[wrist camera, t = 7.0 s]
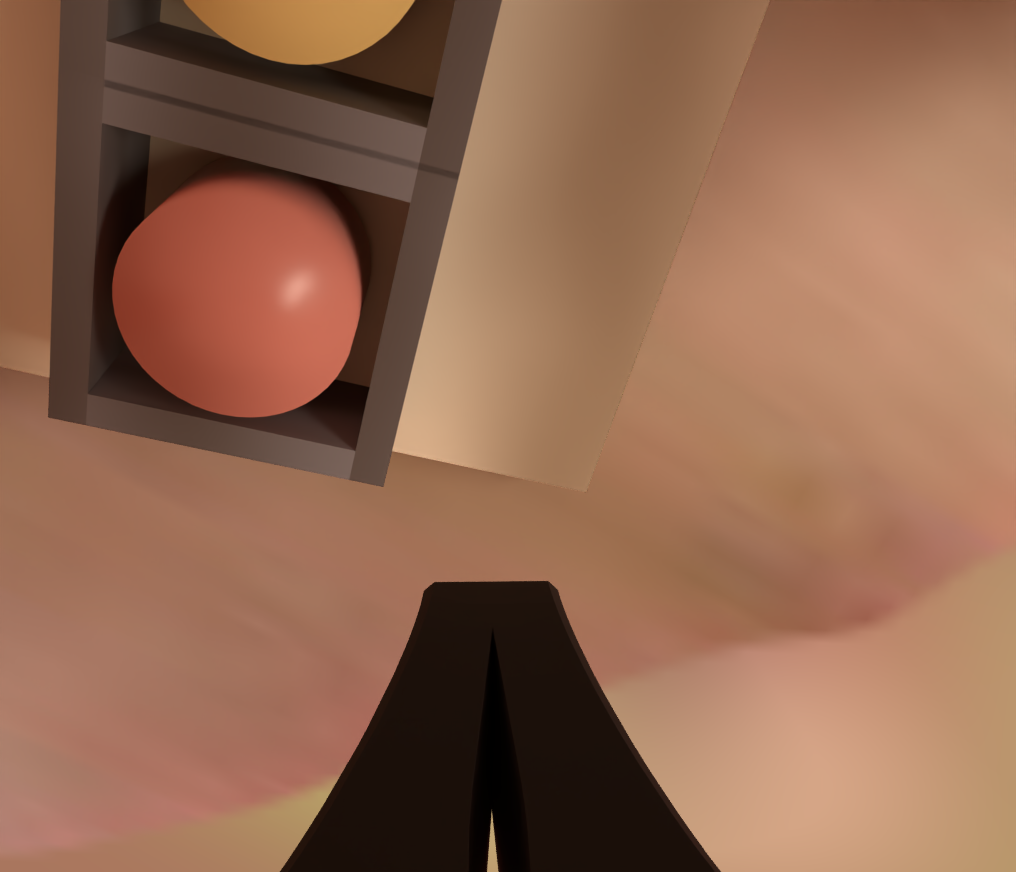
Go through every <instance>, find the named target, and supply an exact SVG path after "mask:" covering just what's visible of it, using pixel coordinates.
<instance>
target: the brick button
mask: <svg viewBox="0 0 1016 872" xmlns="http://www.w3.org/2000/svg"><path fill="white" fill-rule="evenodd" d="M370 275H371V254H370V247H369V242H368V239H367V235H366V232H365V229H364V227H363V224H362V222H361V220H360V218H359V216H358V214H357V213H356V211H355V209H354V208H353V206H352V205H351V203H350V202H349V201H348V199H347V198H346V197H345V196H344V194H343V193H342V192H341V191H340V190H339V189H338V188H337V187H336V186H335V185H334V184H332V183H331V182H328V181H325V180H321V179H317V178H313V177H309V176H305V175H301V174H297V173H294V172H290V171H286V170H282V169H278V168H274V167H270V166H266V165H263V164H259V163H255V162H251V161H247V160H243V159H239V158H235V157H232V156H229V157H225V158H222V159H219V160H216V161H214V162H212V163H210V164H208V165H206V166H204V167H202V168H201V169H199V170H198V171H197V172H195V173H194V174H193V175H191V176H190V177H189V178H188V179H187V180H186V181H185V182H184V183H183V184H182V185H181V186H180V187H179V188H178V189H176V190H175V191H174V192H173V193H172V194H171V195H170V196H169V197H168V198H167V199H166V200H165V201H164V202H163V203H162V204H161V205H160V206H158V207H157V208H156V209H155V210H154V211H153V212H152V213H151V214H150V215H149V216H148V217H147V218H146V219H145V220H144V221H143V222H142V223H141V224H140V225H139V226H138V227H137V228H136V229H135V230H134V231H133V232H132V234H131V235H130V237H129V238H128V239H127V241H126V242H125V244H124V246H123V248H122V250H121V252H120V254H119V256H118V260H117V263H116V266H115V270H114V276H113V283H112V300H113V306H114V313H115V317H116V320H117V323H118V327H119V330H120V332H121V334H122V336H123V339H124V341H125V343H126V345H127V346H128V348H129V350H130V351H131V353H132V355H133V356H134V357H135V359H136V360H137V361H138V363H139V364H140V365H141V367H142V368H143V369H144V370H145V371H146V372H147V373H148V374H149V375H150V376H151V377H152V378H153V379H154V380H155V381H156V382H158V383H159V384H160V385H161V386H162V387H164V388H165V389H166V390H168V391H169V392H171V393H172V394H174V395H175V396H177V397H178V398H180V399H182V400H184V401H186V402H188V403H190V404H192V405H194V406H197V407H199V408H202V409H204V410H207V411H211V412H214V413H218V414H222V415H228V416H235V417H265V416H271V415H276V414H281V413H284V412H287V411H290V410H293V409H296V408H298V407H300V406H302V405H304V404H306V403H308V402H309V401H311V400H312V399H314V398H315V397H317V396H318V395H319V394H321V393H322V392H323V391H324V390H325V389H326V388H328V386H329V385H330V384H331V383H332V382H333V381H334V380H335V378H336V377H337V376H338V374H339V373H340V371H341V370H342V368H343V366H344V364H345V362H346V360H347V358H348V356H349V353H350V350H351V346H352V343H353V339H354V336H355V332H356V328H357V325H358V321H359V318H360V314H361V311H362V307H363V304H364V300H365V297H366V293H367V290H368V286H369V282H370Z"/></svg>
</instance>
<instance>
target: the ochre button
mask: <svg viewBox="0 0 1016 872" xmlns="http://www.w3.org/2000/svg"><path fill="white" fill-rule="evenodd" d="M183 1H184V2H185V3H186V5H187V6H188V7H189V8H190V9H191V10H192V11H193V12H194V13H195V14H196V15H197V17H198V18H199V19H200V20H201V21H202V22H204V23H205V24H206V25H207V26H208V27H210V28H211V29H212V30H213V31H214V32H216V33H217V34H218V35H220V36H221V37H223V38H224V39H226V40H227V41H229V42H230V43H232V44H233V45H235V46H237V47H239V48H241V49H243V50H245V51H247V52H249V53H251V54H254V55H257V56H260V57H263V58H265V59H268V60H272V61H277V62H282V63H287V64H300V65H311V64H324V63H328V62H333V61H338V60H341V59H344V58H347V57H349V56H352V55H355V54H357V53H359V52H361V51H363V50H365V49H366V48H368V47H370V46H372V45H373V44H375V43H376V42H377V41H379V40H380V39H381V38H383V37H384V36H385V35H387V34H388V33H389V32H390V31H391V30H392V29H393V28H394V27H395V26H396V25H397V24H398V23H399V22H400V20H401V19H402V18H403V16H404V15H405V14H406V12H407V11H408V10H409V8H410V7H411V6H412V4H413V2H414V1H415V0H183Z"/></svg>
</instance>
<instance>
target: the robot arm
mask: <svg viewBox="0 0 1016 872" xmlns="http://www.w3.org/2000/svg"><path fill="white" fill-rule="evenodd" d="M491 812H492V815H493V824H494V833H495V843H496V852H497V862H498V871H499V872H721V871H720V870H719V869H718V867H717V866H716V865H715V864H714V862H713V861H712V860H711V858H710V857H709V856H708V855H707V853H706V852H705V851H704V849H703V848H702V846H701V845H700V843H699V842H698V841H697V839H696V838H695V837H694V835H693V834H692V832H691V831H690V829H689V828H688V827H687V825H686V824H685V822H684V821H683V819H682V818H681V817H680V815H679V814H678V812H677V811H676V809H675V808H674V806H673V805H672V803H671V802H670V800H669V799H668V797H667V796H666V794H665V793H664V791H663V790H662V788H661V787H660V785H659V784H658V782H657V781H656V779H655V778H654V776H653V775H652V773H651V772H650V770H649V769H648V767H647V765H646V764H645V762H644V761H643V759H642V757H641V756H640V754H639V753H638V751H637V749H636V748H635V746H634V745H633V743H632V741H631V740H630V738H629V736H628V734H627V733H626V731H625V729H624V727H623V726H622V724H621V722H620V721H619V719H618V717H617V715H616V714H615V712H614V710H613V708H612V707H611V705H610V703H609V702H608V700H607V698H606V696H605V694H604V693H603V691H602V689H601V687H600V685H599V683H598V681H597V679H596V678H595V676H594V674H593V672H592V670H591V668H590V666H589V664H588V662H587V660H586V658H585V656H584V654H583V651H582V649H581V647H580V645H579V643H578V641H577V639H576V637H575V634H574V632H573V630H572V628H571V625H570V623H569V620H568V618H567V615H566V613H565V610H564V608H563V605H562V602H561V599H560V596H559V593H558V590H557V589H556V588H555V587H554V586H553V585H552V584H551V583H550V582H548V581H510V582H434V583H433V584H432V585H430V586H429V587H428V588H427V589H426V590H424V593H423V597H422V602H421V606H420V609H419V612H418V615H417V618H416V621H415V624H414V627H413V630H412V632H411V635H410V638H409V640H408V643H407V645H406V648H405V650H404V652H403V654H402V657H401V659H400V661H399V664H398V666H397V668H396V671H395V673H394V675H393V677H392V679H391V681H390V683H389V685H388V687H387V689H386V691H385V693H384V695H383V697H382V699H381V702H380V704H379V706H378V708H377V710H376V712H375V714H374V716H373V718H372V720H371V722H370V724H369V726H368V728H367V730H366V732H365V733H364V735H363V737H362V739H361V741H360V743H359V745H358V746H357V748H356V750H355V751H354V753H353V755H352V757H351V758H350V760H349V762H348V763H347V765H346V767H345V769H344V770H343V772H342V774H341V776H340V777H339V779H338V781H337V782H336V784H335V786H334V788H333V789H332V791H331V793H330V794H329V796H328V798H327V800H326V802H325V803H324V805H323V807H322V808H321V810H320V811H319V813H318V815H317V816H316V818H315V819H314V821H313V823H312V824H311V826H310V827H309V829H308V831H307V832H306V833H305V835H304V837H303V838H302V840H301V841H300V843H299V844H298V846H297V847H296V849H295V850H294V852H293V853H292V855H291V856H290V858H289V859H288V861H287V862H286V864H285V865H284V867H283V868H282V870H281V871H280V872H487V864H488V851H489V837H490V824H491Z"/></svg>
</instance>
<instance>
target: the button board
mask: <svg viewBox="0 0 1016 872" xmlns="http://www.w3.org/2000/svg"><path fill="white" fill-rule="evenodd" d="M769 2H770V0H415V1H414V2H413V4H412V6H411V7H410V8H409V10H408V11H407V12H406V14H405V15H404V16H403V18H402V19H401V20H400V22H399V23H398V24H397V25H396V26H395V27H394V28H393V29H392V30H391V31H390V32H389V33H388V34H387V35H385V36H384V37H383V38H381V39H380V40H379V41H377V42H376V43H375V44H373V45H372V46H370V47H368V48H366V49H365V50H363V51H361V52H359V53H357V54H355V55H352V56H349V57H347V58H344V59H341V60H338V61H333V62H328V63H324V64H311V65H300V64H287V63H282V62H277V61H272V60H268V59H265V58H263V57H260V56H257V55H254V54H251V53H249V52H247V51H245V50H243V49H241V48H239V47H237V46H235V45H233V44H232V43H230V42H229V41H227V40H226V39H224V38H223V37H221V36H220V35H218V34H217V33H216V32H214V31H213V30H212V29H211V28H210V27H208V26H207V25H206V24H205V23H204V22H202V21H201V20H200V19H199V18H198V17H197V15H196V14H195V13H194V12H193V11H192V10H191V9H190V8H189V7H188V6H187V5H186V3H185V2H184V1H183V0H0V367H3V368H7V369H12V370H17V371H21V372H26V373H31V374H35V375H40V376H45V377H49V408H48V417H49V418H54V419H59V420H63V421H68V422H73V423H78V424H83V425H87V426H92V427H97V428H102V429H107V430H112V431H116V432H121V433H126V434H131V435H136V436H140V437H145V438H150V439H155V440H160V441H165V442H169V443H174V444H179V445H184V446H189V447H193V448H198V449H203V450H208V451H213V452H217V453H222V454H227V455H232V456H237V457H242V458H246V459H251V460H256V461H261V462H266V463H270V464H275V465H280V466H285V467H290V468H295V469H299V470H304V471H309V472H314V473H319V474H323V475H328V476H333V477H338V478H343V479H347V480H352V481H357V482H362V483H367V484H372V485H376V486H381V487H383V486H384V482H385V478H386V474H387V470H388V466H389V461H390V457H391V453H392V451H395V452H399V453H404V454H409V455H413V456H418V457H423V458H427V459H432V460H437V461H441V462H446V463H451V464H455V465H460V466H465V467H469V468H474V469H479V470H483V471H488V472H493V473H497V474H502V475H507V476H511V477H516V478H521V479H525V480H530V481H535V482H539V483H544V484H549V485H553V486H558V487H563V488H567V489H572V490H577V491H581V492H586V491H587V489H588V486H589V483H590V481H591V478H592V475H593V473H594V470H595V467H596V465H597V462H598V459H599V457H600V454H601V451H602V449H603V446H604V443H605V441H606V438H607V435H608V433H609V430H610V427H611V425H612V422H613V419H614V416H615V414H616V411H617V408H618V406H619V403H620V400H621V398H622V395H623V392H624V390H625V387H626V384H627V382H628V379H629V376H630V374H631V371H632V368H633V366H634V363H635V360H636V358H637V355H638V352H639V350H640V347H641V344H642V342H643V339H644V336H645V334H646V331H647V328H648V326H649V323H650V320H651V318H652V315H653V312H654V310H655V307H656V304H657V302H658V299H659V296H660V294H661V291H662V288H663V286H664V283H665V280H666V278H667V275H668V272H669V269H670V267H671V264H672V261H673V259H674V256H675V253H676V251H677V248H678V245H679V243H680V240H681V237H682V235H683V232H684V229H685V227H686V224H687V221H688V219H689V216H690V213H691V211H692V208H693V205H694V203H695V200H696V197H697V195H698V192H699V189H700V187H701V184H702V181H703V179H704V176H705V173H706V171H707V168H708V165H709V163H710V160H711V157H712V155H713V152H714V149H715V147H716V144H717V141H718V139H719V136H720V133H721V131H722V128H723V125H724V122H725V120H726V117H727V114H728V112H729V109H730V106H731V104H732V101H733V98H734V96H735V93H736V90H737V88H738V85H739V82H740V80H741V77H742V74H743V72H744V69H745V66H746V64H747V61H748V58H749V56H750V53H751V50H752V48H753V45H754V42H755V40H756V37H757V34H758V32H759V29H760V26H761V24H762V21H763V18H764V16H765V13H766V10H767V8H768V5H769ZM229 156H232V157H235V158H239V159H243V160H247V161H251V162H255V163H259V164H263V165H266V166H270V167H274V168H278V169H282V170H286V171H290V172H294V173H297V174H301V175H305V176H309V177H313V178H317V179H321V180H325V181H328V182H331V183H332V184H334V185H335V186H336V187H337V188H338V189H339V190H340V191H341V192H342V193H343V194H344V196H345V197H346V198H347V199H348V201H349V202H350V203H351V205H352V206H353V208H354V209H355V211H356V213H357V214H358V216H359V218H360V220H361V222H362V224H363V227H364V229H365V232H366V235H367V239H368V242H369V247H370V254H371V275H370V282H369V286H368V290H367V293H366V297H365V300H364V304H363V307H362V311H361V314H360V318H359V321H358V325H357V328H356V332H355V336H354V339H353V343H352V346H351V350H350V353H349V356H348V358H347V360H346V362H345V364H344V366H343V368H342V370H341V371H340V373H339V374H338V376H337V377H336V378H335V380H334V381H333V382H332V383H331V384H330V385H329V386H328V388H326V389H325V390H324V391H323V392H322V393H321V394H319V395H318V396H317V397H315V398H314V399H312V400H311V401H309V402H308V403H306V404H304V405H302V406H300V407H298V408H296V409H293V410H290V411H287V412H284V413H281V414H276V415H271V416H265V417H235V416H228V415H222V414H218V413H214V412H211V411H207V410H204V409H202V408H199V407H197V406H194V405H192V404H190V403H188V402H186V401H184V400H182V399H180V398H178V397H177V396H175V395H174V394H172V393H171V392H169V391H168V390H166V389H165V388H164V387H162V386H161V385H160V384H159V383H158V382H156V381H155V380H154V379H153V378H152V377H151V376H150V375H149V374H148V373H147V372H146V371H145V370H144V369H143V368H142V367H141V365H140V364H139V363H138V361H137V360H136V359H135V357H134V356H133V355H132V353H131V351H130V350H129V348H128V346H127V345H126V343H125V341H124V339H123V336H122V334H121V332H120V330H119V327H118V323H117V320H116V317H115V313H114V306H113V300H112V283H113V276H114V270H115V266H116V263H117V260H118V256H119V254H120V252H121V250H122V248H123V246H124V244H125V242H126V241H127V239H128V238H129V237H130V235H131V234H132V232H133V231H134V230H135V229H136V228H137V227H138V226H139V225H140V224H141V223H142V222H143V221H144V220H145V219H146V218H147V217H148V216H149V215H150V214H151V213H152V212H153V211H154V210H155V209H156V208H157V207H158V206H160V205H161V204H162V203H163V202H164V201H165V200H166V199H167V198H168V197H169V196H170V195H171V194H172V193H173V192H174V191H175V190H176V189H178V188H179V187H180V186H181V185H182V184H183V183H184V182H185V181H186V180H187V179H188V178H189V177H190V176H191V175H193V174H194V173H195V172H197V171H198V170H199V169H201V168H202V167H204V166H206V165H208V164H210V163H212V162H214V161H216V160H219V159H222V158H225V157H229Z"/></svg>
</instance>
